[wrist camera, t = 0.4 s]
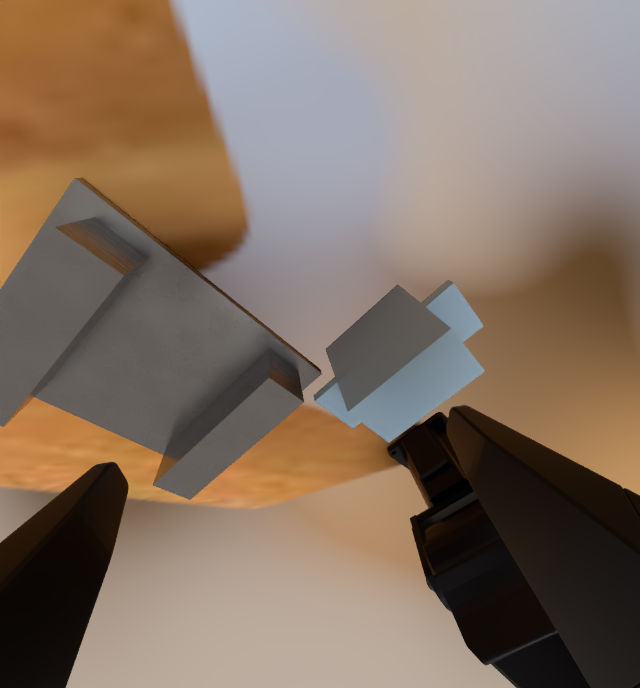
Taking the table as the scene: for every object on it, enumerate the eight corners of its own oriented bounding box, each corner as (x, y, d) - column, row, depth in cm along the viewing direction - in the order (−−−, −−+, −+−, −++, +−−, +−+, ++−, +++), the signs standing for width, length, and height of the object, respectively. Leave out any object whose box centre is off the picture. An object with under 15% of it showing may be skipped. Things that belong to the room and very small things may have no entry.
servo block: (420, 263, 20) (485, 300, 14) (448, 301, 22) (516, 348, 16) (306, 365, 23) (321, 433, 17) (340, 392, 25) (364, 461, 19)
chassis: (320, 369, 23) (330, 404, 20) (207, 468, 27) (199, 513, 23) (81, 177, 15) (25, 178, 12) (-39, 355, 18) (-110, 397, 15)
